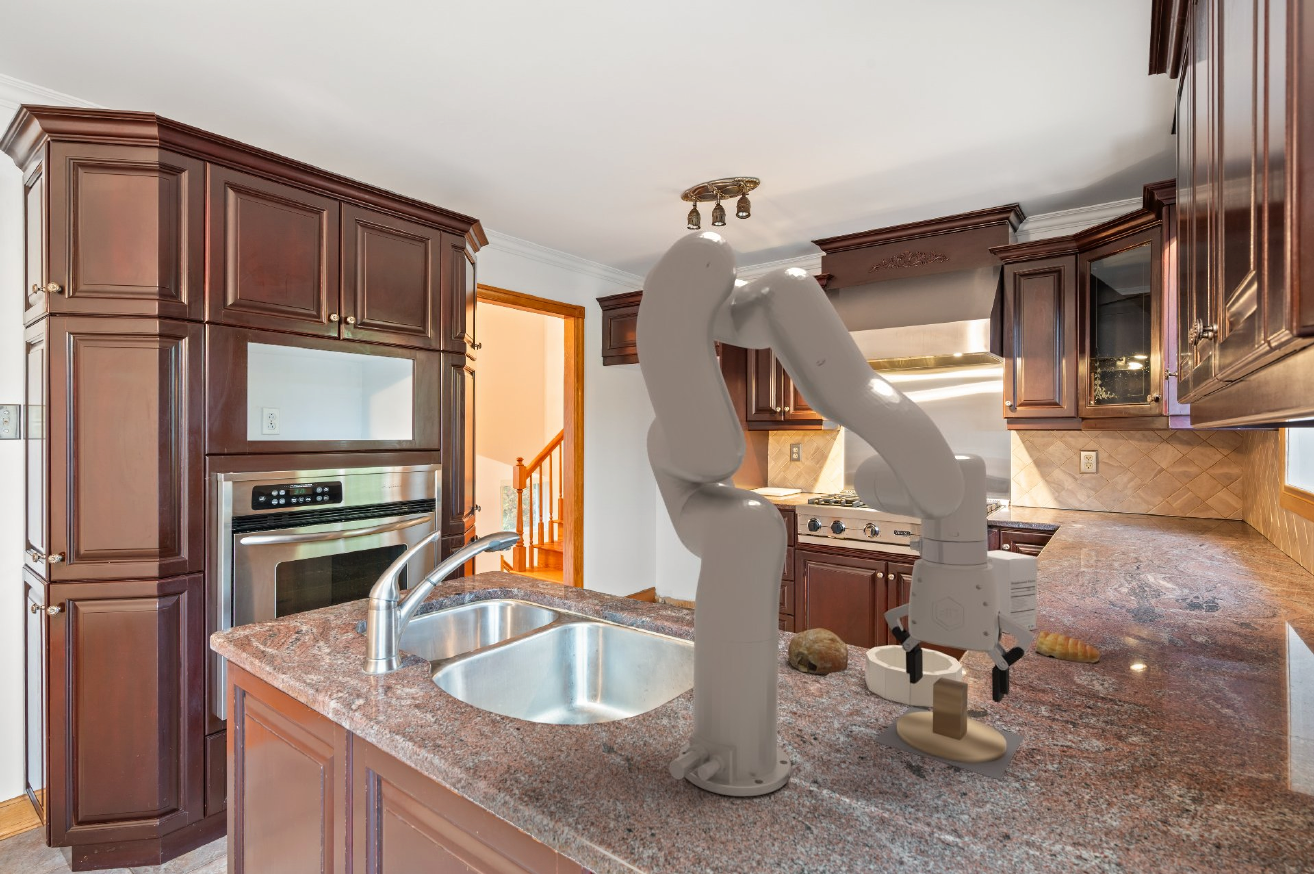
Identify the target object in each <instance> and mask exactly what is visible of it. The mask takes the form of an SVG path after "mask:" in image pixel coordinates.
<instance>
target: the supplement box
mask: <svg viewBox="0 0 1314 874" xmlns="http://www.w3.org/2000/svg"><path fill="white" fill-rule="evenodd" d="M987 556H988V564H991V565H993V567H994V571H995V575H996V580H997V585H998V592H999V599H1000V607H1001V614H1003V615H1004V616H1006V617H1008V618H1009V619H1011V620H1013V621H1014V622H1016V623H1018V624H1019V625H1021V626H1022V627H1024V628H1026V629H1027V630H1029V631H1033V630H1037V607H1038V605H1037V602H1038V600H1037V598H1038V597H1037V596H1038V595H1037V594H1038V564H1039V563H1038V561H1039V559H1038V558H1039V557H1037V556H1035V555H1034V556H1033V555H1028V554H1022V553H1016V552H1012V551H1008V550H1001V549H998V550H996V549H995V550H987ZM1002 633H1004V634H1009V635H1011V634H1010V633H1008V632H1006V631H1005V630H1003V629H1002Z"/></svg>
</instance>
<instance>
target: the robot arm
mask: <svg viewBox="0 0 1314 874" xmlns="http://www.w3.org/2000/svg"><path fill="white" fill-rule="evenodd" d="M737 277H738V264H737V259H736V254H735V252H734V250H733V248H732V246H731V245H730V243H729V242H728V241H727V240H726V239H725V238H724V237H723V236H721V235H720V234H718V233H716V232H714V231H710V230H698V231H694V232H690V233H689V234H686V235H684V236H683V237H680V238H679V239H678V240H676V242H674V243H673V245H671V246H670V248H668V249H667V251H666V252H665V253H664V254H663V255H662V257H661V258H660V259H659V260H658V261H657V262H656V263H655V264H654V265H653V266H652V268H651V269H650V270H649V272H648V273H647V275H646V277H645V279H644V282H643V285H642V296H641V301H640V304H639V308H638V313H637V319H636V329H635V342H636V344H635V345H636V351H637V358H638V363H639V367H640V370H641V374H642V377H643V380H644V384H645V386H646V389H647V393H648V396H649V399H650V403H651V405H652V409H653V410H654V411H653V413H654V414H655V418H654V419H653V420H652V422H651V423H650V426H649V427H648V431H647V436H646V452H647V456H648V460H649V465H650V468H651V470H652V473H653V476H654V479H655V481H656V484H657V487H658V489H659V492H660V494H661V495H660V496H661V497H662V499H663V503H664V506H665V508H666V511H667V514H668V516H669V518H670V521H671V523H672V527H673V529H674V531H675V534H676V535H677V537H678V539H679V541H680V542H681V543H682V545H683V546H684V547H685V549H687V550H688V551H689V552H690V553H691V554H693V555H694V556H696V557H697V558H699V559H700V561H701V562H700V570H699V576H698V579H697V584H696V592H695V599H694V600H695V601H694V617H693V620H694V621H693V623H694V625H693V626H694V627H693V629H694V632H693V633H694V643H693V645H694V646H693V649H694V650H693V694H692V696H693V704H692V705H693V706H692V707H693V708H692V733H691V734H690V735H689V738H688V739H689V741H688V742H687V743H686V744H684V746H682V747H681V749H680V751H679V754H678V757H677V758H675V759H673V760H672V761H671V762H670V763H669V768H668V769H669V772H670V775H671V777H673V778H674V779H676V780H677V781H678V780H682V779H683V778H685V779H687V780H688V781H689V783H692V784H693V785H695V786H697V787H699V788H700V789H703V790H705V791H708V792H711V793H714V794H715V793H716V794H719V795H724V796H731V797H754V796H761V795H766V794H769V793H772V792H774V791H777V790H779V789H780V788H782V787H783V786H785V784H787V782H789V780H790V778H791V772H792V763H791V759H790V758H789V756H788V755H787V753H786V752H785V751H784V750H783V749H782V748H781V747H779V746H778V719H779V718H778V717H779V715H778V709H779V704H778V703H779V652H780V651H779V649H780V648H779V642H780V641H779V640H780V639H779V638H780V637H779V627H780V626H779V625H780V624H779V622H780V620H779V619H780V618H779V617H780V595H781V587H782V586H781V585H782V578H783V573H784V568H785V562H786V557H787V550H788V531H787V527H786V522H785V520H784V517H783V516H782V513H781V512H780V510H779V509H778V508H777V507H776V505H775V504H774V503H773V502H772V501H771V500H770V499H769V498H767V497H765V496H764V495H762V494H760V493H757V492H755V491H752V490H749V489H745V488H739V487H736V486H735V483H734V480H733V477H732V476H734V475H735V474H736V473H737V472H738V471H739V470H740V468H741V467H742V466H743V464H744V461H745V457H746V454H747V453H746V452H747V442H746V437H745V434H744V433H745V432H744V430H743V428H742V427H743V426H742V425H741V421H740V419H739V417H738V414H737V411H736V408H735V406H734V404H733V400H732V397H731V395H730V392H729V390H728V387H727V384H726V382H725V378H724V376H723V373H722V370H721V366H720V361H719V359H718V355H717V351H716V345H715V342H719V343H722V344H727V345H731V346H734V347H735V346H736V347H741V348H745V349H753V350H764V349H765V350H766V349H769V348H770V349H771V350H772V353H773V354H774V356H775V357H776V358H777V360H778V361H779V363H780V365H781V366H782V367H783V369H784V370H785V372H786V374H787V375H788V377H789V378H790V379H791V382H792V383H793V384H794V387H795V388H796V390H797V391H798V393H799V395H800V396H801V398H802V400H803V401H804V402H805V404H806V405H807V406H808V408H810V409H811V410H813V412H815V413H816V414H818V415H820V416H821V417H822V418H824V419H826V420H829V421H831V422H833V424H836V425H839V426H841V427H843V428H845V429H847V430H848V431H850V432H852V433H854V434H855V435H857V436H858V437H859V438H861V440H863V441H865V442H866V443H867V444H868V445H869V446H870V447H872V448H873V450H874V451H875V452H876V453H877V454H874V455H872V456H870V457H868V458H866V459H864V460H863V461H862V462H861V463H860V464H859V465H858V467H857V468H856V470H855V471H854V472H855V473H854V475H853V479H852V482H853V483H852V484H853V490H854V492H855V494H856V496H857V498H858V500H859V501H861V502H862V503H863V504H864V505H866V506H867V507H868V508H870V509H872V510H874V511H878V512H880V513H885V514H890V515H898V516H904V517H909V518H915V519H918V520H919V519H920V536H919V538H917V539H910V541H909V549H910V550H911V551H915V552H918V554H919V557H920V558H918V559H916V560H914V564H913V568H912V571H911V572H912V573H911V580H910V589H909V598H908V599H909V600H908V603H905V604H902V605H899V606H897V607H894V608H891V609H889V610H887V611H886V612H885V613H884V614H883V615H884V616H883V617H884V618H885V620H886V621H885V622H886V623H887V624H888V626H889V628H890V630H891V634H892V636H893V637H894V638H895V639H896V641H898V643H900V646H902V648H903V650H904V651H906V673H907V674H910V683H912V684H915V683H917V682H918V681H919V680H920V679H921V678H922V677H923V655H922V649H921V648H922V646H920V643H926V644H929V645H937V646H939V647H941V646H942V647H946V648H952V649H958V650H963V651H970V652H976V653H986V654H987V655H988V656H989V658H990V659H991V660H992V662H993V663H994V666H993V668H992V669H991V677H992V678H991V682H992V683H991V688H992V689H991V691H992V692H991V693H992V696H991V697H992V699H991V700H992V701H993V702H995V703H999V704H1000V702H1001V701H1002V700H1003V698H1004V697H1005V695H1007V696H1008V695H1009V693H1010V667H1011V666H1012V665H1014V664H1015V663H1017V662H1018V661H1019V660H1021V659H1022V658H1023V657H1024V655H1025V654H1026V652H1027V651H1028V650H1029V648H1030V646H1031V645H1032V643H1033V642H1034V640H1035V638H1036V635H1035V633H1034V632H1032V630H1027V629H1026V628H1024V627H1022V626H1021V625H1019V624H1018V623H1016V622H1014V621H1013V620H1011V619H1009V618H1008V617H1006V616H1004V615H1003V614H1001V607H1000V599H999V592H998V585H997V580H996V575H995V571H994V567H993V565H991V564H988V556H987V551H988V511H987V510H988V507H987V506H988V505H987V502H988V501H987V495H988V494H987V467H986V463H985V461H984V459H983V458H982V456H979V455H978V454H974V453H957V452H956V453H955V452H953V450H952V449H951V447H950V444H949V443H948V441H947V440H946V438H945V437H944V435H943V433H942V431H940V429H939V427H938V426H937V424H936V423H935V422H934V421H933V419H932V418H931V417H930V416H929V415H928V414H927V413H926V412H925V411H924V410H923V409H922V407H920V406H919V405H918V404H917V403H915V402H914V401H913V400H912V399H911V398H909V397H908V396H907V395H906V394H905V393H903V392H902V391H901V390H900V389H899V388H897V387H896V386H895V385H894V384H893V383H892V382H890V381H889V380H887V379H886V378H885V377H883V376H882V375H880V373H879V374H878V372H877V371H875V370H874V369H873V368H872V366H871V365H870V363H869V361H867V359H866V357H865V356H864V354H863V352H862V351H861V349H860V348H859V346H858V344H857V343H856V341H855V339H854V338H853V336H852V335H851V333H850V330H849V329H848V328H847V327H846V325H845V323H844V321H843V320H842V318H841V316H839V315H840V314H839V313H838V312H837V310H836V309H835V307H834V305H833V304H832V302H831V301H830V299H829V297H828V296H827V294H826V292H825V290H824V289H823V288H822V286H821V284H820V283H819V281H818V280H817V279H816V278H815V276H814V275H813V274H812V273H811V272H809V271H807V270H806V269H804V268H802V267H798V266H785V267H781V268H778V269H774V270H772V271H770V272H768V273H766V274H764V275H762V276H760V277H759V278H757V279H756V280H753V281H747V280H742V279H737ZM906 616H908V617H907V618H908V621H907V627H908V629H906V628H905V627H904V626H903V625H902V621H901V620H900V619H901V618H903V617H906ZM1002 629H1003V630H1005V631H1006V632H1008V633H1010V634H1009V635H1011V636H1013V637H1015V638H1016V640H1017V641H1016V644H1015V645H1014V646H1013V647H1012V648H1011V649H1010V650H1007V649H1006V647H1005V646H1004V645H1003V644H1002V643H1001V641H1002V639H1003V638H1002V636H1003V632H1002Z"/></svg>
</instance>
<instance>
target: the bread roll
mask: <svg viewBox="0 0 1314 874" xmlns="http://www.w3.org/2000/svg"><path fill="white" fill-rule="evenodd" d="M787 653H788V660H789V663H790V664H791V665H792V667H793V668H795V669H797V670H798V671H799V672H801V673H808V674H814V675H824V676H828V675H829V674H831V673H839V672H843V671H845V670H847V668H848V660H849V657H848V656H849V651H848V647H847V644H846V643H845V642H844V641H843V640H841V638H840V637H839V636H838V635H837V634H836V633H834V632H832V631H831V630H828V629H825V628H822V627H817V628H811V629H807V630H804V631H801V632H798V633H797V634H795V635H794V636H793V637H792V639H791V640H790V641H789V645H788V650H787Z"/></svg>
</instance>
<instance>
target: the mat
mask: <svg viewBox="0 0 1314 874" xmlns="http://www.w3.org/2000/svg"><path fill="white" fill-rule="evenodd" d="M914 712H932V710H926V709H922V708H919V707H916V706H913V705H909V707H908V708H907V709H906V710H905V711H904V712H903V713H901V715H899V717H898V718H896V719H895V720H894V721H893V722H892V723H891V724H890V725H889V726H888V727H887V728H886V729H885V730H884V731H882V732H881V733H880V734H879V735H878V736H877V737H876V738H875V739H874V740H873V742H874V743H876V744H880V745H884V746H887V747H890V748H894V749H897V750H900V751H903V752H906V753H910V754H913V755H916V756H920V757H923V758H927V759H930V760H933V761H935V762H939V763H941V764H946V765H949V766H952V767H955V768H960V769H962V770H966V771H967V772H972V773H974V774H975V773H976V774H978V775H982V776H985V777H988V778H992V779H995V780H998V781H1000V780H1001V779H1002V777H1003V775H1004V773H1005V771H1006V770H1007V768H1008V766H1009V764H1010V763H1011V761H1012V759H1013V757H1014V756H1015V753H1016V752H1017V750H1018V748H1019V747H1020V745H1021V743H1022V741H1023V740H1024V738H1025V735H1021V734H1017V733H1015V732H1014V733H1013V732H1010V731H1008V730H1002V729H999V728H996V727H992V728H993V729H995V730H996V731H998V732H999V733H1000V734H1001V735H1002V736H1003V737H1004V738H1005V740H1006V754H1005V755H1004V756H1003V757H1002V758H1000V759H998V760H995V761H992V762H985V763H965V762H957V761H951V760H946V759H942V758H938V757H935V756H932V755H929V754H926V753H923V752H921V751H919V750H917V749H915V748H913V747H911V746H910V745H908V744H907V743H905V742H904V741H903V740H902V739H901V738H900V737H899V735H898V733H897V721H898V719H899V718H900V717H902V716H904V715H906V714H909V713H914Z"/></svg>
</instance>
